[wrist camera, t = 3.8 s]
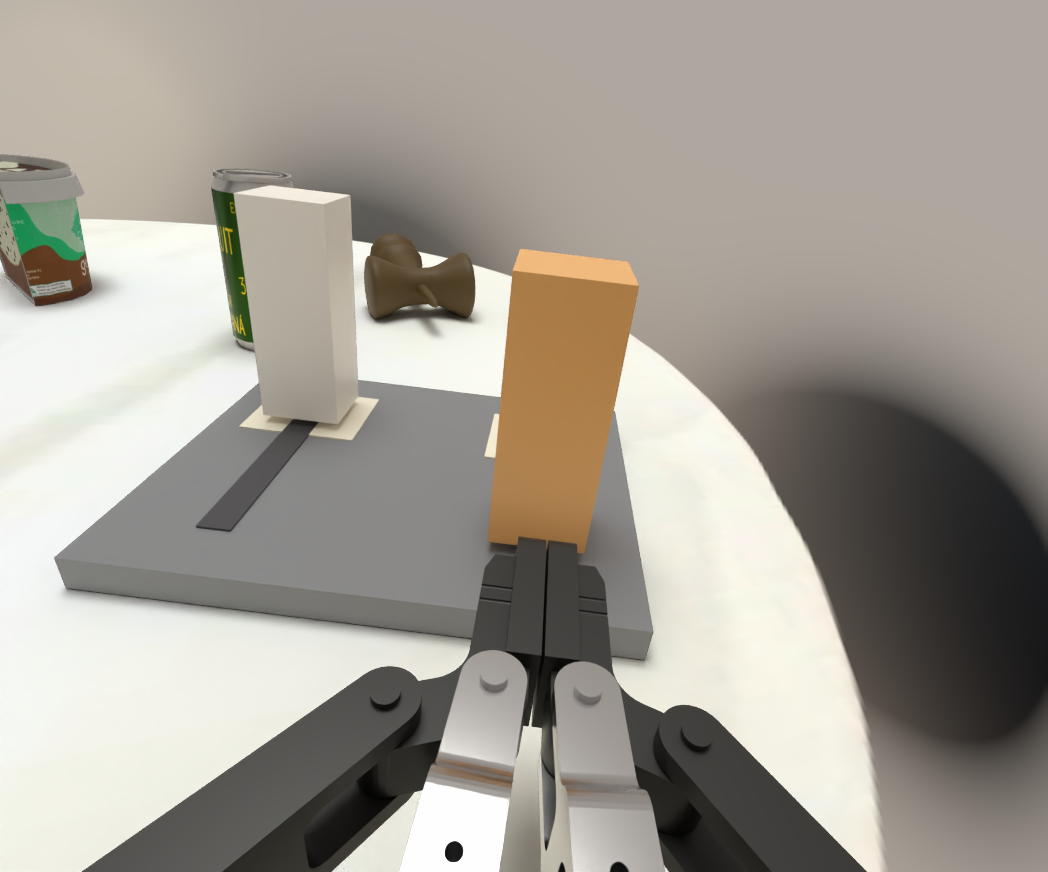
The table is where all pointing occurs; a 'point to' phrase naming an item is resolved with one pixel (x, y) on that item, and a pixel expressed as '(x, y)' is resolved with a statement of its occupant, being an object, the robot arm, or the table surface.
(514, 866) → the table surface
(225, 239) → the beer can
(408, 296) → the kendama
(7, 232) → the food container
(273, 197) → the tall cream upright block
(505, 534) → the orange tall rectangular block
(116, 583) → the switch board
